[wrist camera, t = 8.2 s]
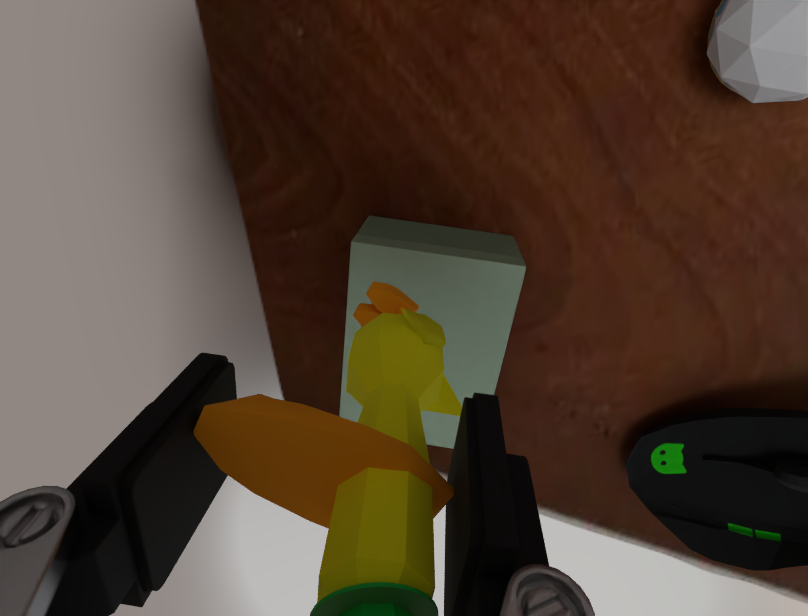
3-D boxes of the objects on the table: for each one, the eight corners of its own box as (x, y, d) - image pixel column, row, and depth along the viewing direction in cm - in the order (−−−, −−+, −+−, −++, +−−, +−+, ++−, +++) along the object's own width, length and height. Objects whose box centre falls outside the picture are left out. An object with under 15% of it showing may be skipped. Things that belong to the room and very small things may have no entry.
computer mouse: (639, 550, 36) (645, 522, 39) (949, 604, 26) (923, 562, 30) (618, 414, 35) (625, 397, 38) (930, 420, 26) (904, 397, 29)
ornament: (691, 122, 26) (781, 133, 19) (675, -14, 24) (771, -59, 17) (824, 74, 25) (976, 66, 18) (822, -78, 22) (999, -159, 15)
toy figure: (283, 302, 17) (49, 671, 6) (321, 222, 16) (102, 526, 5) (435, 376, 18) (456, 788, 8) (484, 308, 17) (594, 699, 6)
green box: (354, 381, 37) (338, 430, 32) (368, 215, 31) (350, 241, 25) (475, 400, 37) (479, 453, 31) (513, 235, 30) (526, 266, 25)
